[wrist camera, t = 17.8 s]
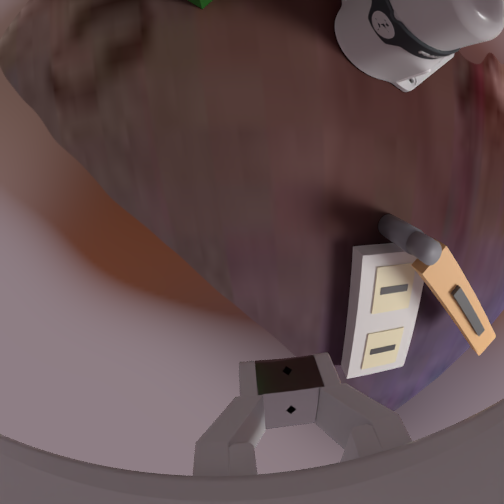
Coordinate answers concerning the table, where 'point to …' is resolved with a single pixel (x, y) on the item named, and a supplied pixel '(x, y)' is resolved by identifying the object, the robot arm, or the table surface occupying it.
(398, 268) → the two-drawer filing cabinet
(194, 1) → the hardback book
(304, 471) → the robot arm
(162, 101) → the table surface
